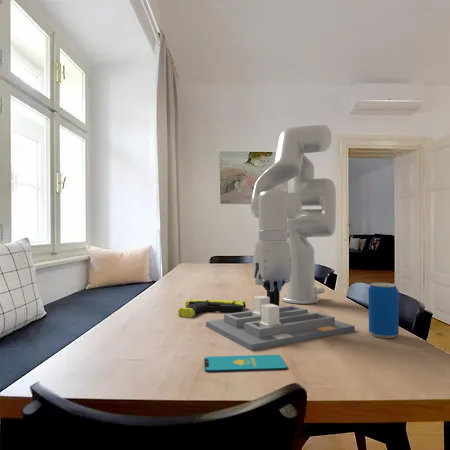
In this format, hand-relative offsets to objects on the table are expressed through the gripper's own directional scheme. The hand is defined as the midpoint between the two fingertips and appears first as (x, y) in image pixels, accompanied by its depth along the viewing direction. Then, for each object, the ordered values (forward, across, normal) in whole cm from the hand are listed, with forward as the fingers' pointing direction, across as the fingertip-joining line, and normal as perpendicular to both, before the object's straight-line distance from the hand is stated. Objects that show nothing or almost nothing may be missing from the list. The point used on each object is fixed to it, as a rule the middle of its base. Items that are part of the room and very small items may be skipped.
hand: (273, 305), depth 100 cm
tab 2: (+3, +8, +10) cm, 13 cm away
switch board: (+5, +2, +5) cm, 7 cm away
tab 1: (+3, +4, 0) cm, 5 cm away
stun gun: (+5, +8, -20) cm, 22 cm away
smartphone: (+5, +22, +21) cm, 31 cm away
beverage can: (+5, -16, +22) cm, 28 cm away
